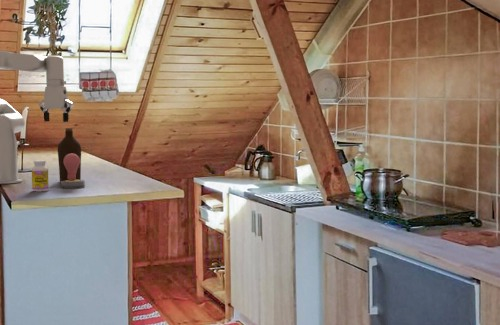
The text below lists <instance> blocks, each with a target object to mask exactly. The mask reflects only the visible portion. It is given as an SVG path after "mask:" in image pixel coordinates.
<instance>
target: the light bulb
mask: <svg viewBox="0 0 500 325" xmlns="http://www.w3.org/2000/svg"><path fill="white" fill-rule="evenodd" d="M63 163H64V166H65V168H66V169H67V171H68V172H67V173H68V175H67V178H68V179H69V180H74V179H76V173H77V169H78V167H79V165H80V158H79V157H78V156H77V155H76V154H73V153H70V154H68V155H66V156H65V158H64V160H63Z"/></svg>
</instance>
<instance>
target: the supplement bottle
mask: <svg viewBox="0 0 500 325" xmlns="http://www.w3.org/2000/svg"><path fill="white" fill-rule="evenodd" d="M46 163H47V162H46V160H44V159H36V160H34V161H33V164H34V166H33V167H31V189H32V192H35V191H36V193H38V192H39V193H41V192H42V191H43V192H47V191H49V168H48V166H46Z"/></svg>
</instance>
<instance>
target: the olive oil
mask: <svg viewBox="0 0 500 325" xmlns="http://www.w3.org/2000/svg"><path fill="white" fill-rule="evenodd" d="M73 132H74V130H73V128H72V127H66V128H65V132H64V133H65V134H64V137H63V138H62V140H60V142H59V143H58V146H57V158H58V172H59V182H60V183H61V181H64V180H69V179H68V178H67V175H68V173H67V172H68V171H67V169H66V168H65V166H64V163H63V160H64V158H65V156H66V155H68V154H70V153H73V154H76V155H77V156H78V157H79V158H80V165H79V167H78V169H77V173H76V180H82V178H81V174H82V173H81V170H82V165H81V164H82V163H81V162H82V146H81V143H80V142H79V140H77V139H76V137H74V135H73V134H74V133H73Z"/></svg>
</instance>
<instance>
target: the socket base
mask: <svg viewBox="0 0 500 325" xmlns="http://www.w3.org/2000/svg"><path fill="white" fill-rule="evenodd" d="M85 185H86V182H85V179H81V180H76V179H74V180H64V181H61V182H60V187H61V188H62V189H82V188H85Z"/></svg>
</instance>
